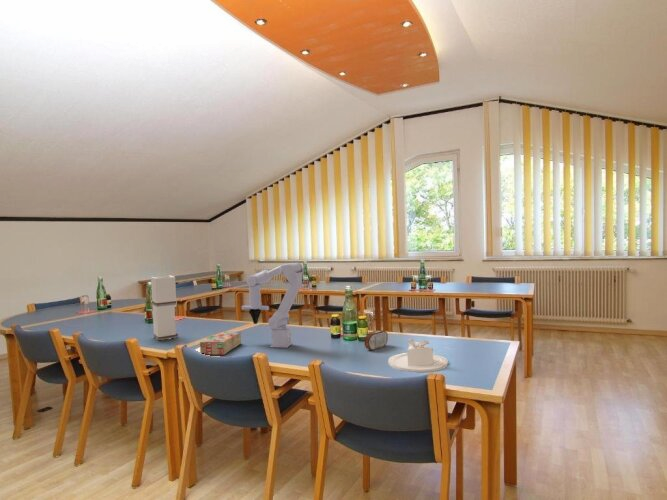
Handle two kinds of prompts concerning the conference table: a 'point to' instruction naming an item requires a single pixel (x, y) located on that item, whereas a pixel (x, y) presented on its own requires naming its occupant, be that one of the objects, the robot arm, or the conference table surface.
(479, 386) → the conference table surface
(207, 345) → the printed cardboard box
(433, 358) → the dish
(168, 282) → the white mini fridge
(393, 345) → the conference table surface
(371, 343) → the slice of bread
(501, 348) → the conference table surface
